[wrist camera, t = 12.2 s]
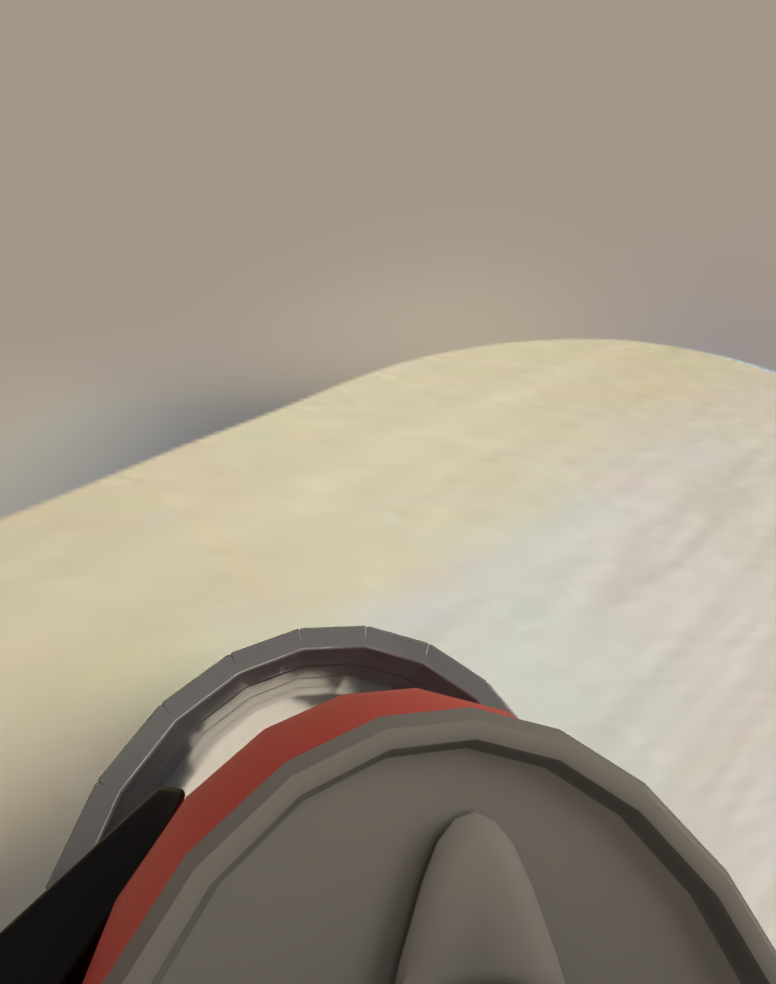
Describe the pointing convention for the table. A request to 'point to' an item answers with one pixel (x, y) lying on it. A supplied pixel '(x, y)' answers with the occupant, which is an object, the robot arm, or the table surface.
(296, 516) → the table surface
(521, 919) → the beer can
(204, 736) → the grey bowl
